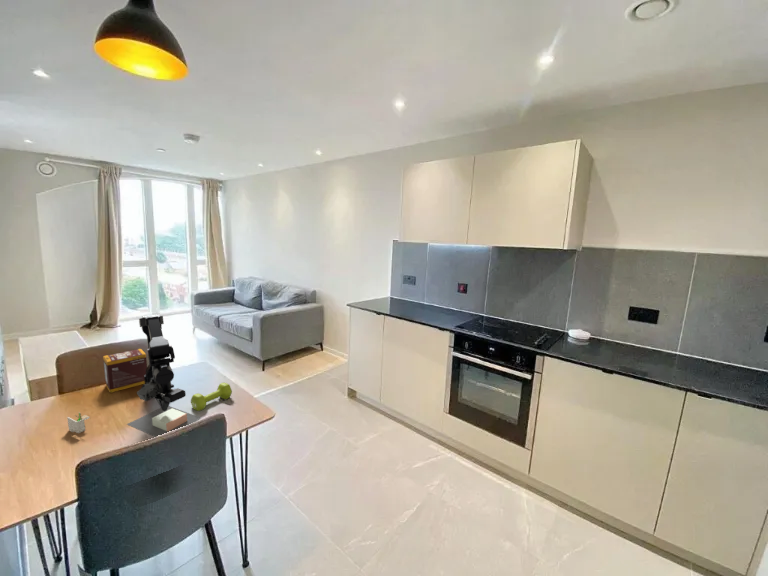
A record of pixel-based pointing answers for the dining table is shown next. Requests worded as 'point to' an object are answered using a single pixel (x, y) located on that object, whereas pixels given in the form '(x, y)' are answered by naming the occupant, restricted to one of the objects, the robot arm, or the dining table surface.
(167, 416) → the slab
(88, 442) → the dining table surface
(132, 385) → the supplement box
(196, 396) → the dumbbell
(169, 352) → the robot arm
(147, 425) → the mat
